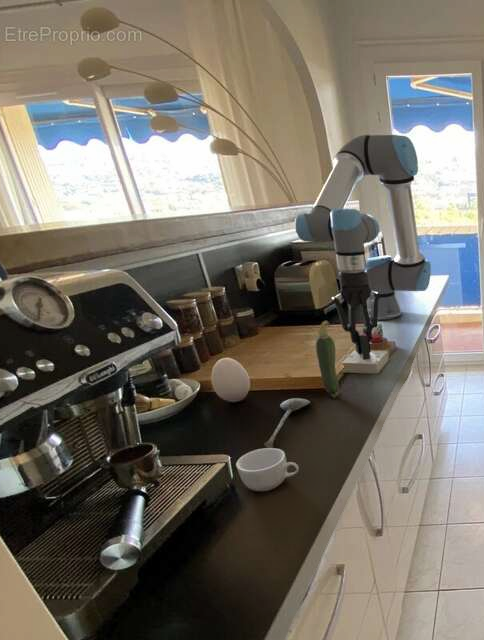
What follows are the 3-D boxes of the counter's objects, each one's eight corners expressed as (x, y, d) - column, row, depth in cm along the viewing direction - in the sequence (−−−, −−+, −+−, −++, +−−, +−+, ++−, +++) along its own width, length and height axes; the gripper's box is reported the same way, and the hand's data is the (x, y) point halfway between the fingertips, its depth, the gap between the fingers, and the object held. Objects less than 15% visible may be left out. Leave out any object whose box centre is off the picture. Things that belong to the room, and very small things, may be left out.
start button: (372, 339, 145) (371, 333, 144) (384, 339, 145) (384, 333, 144) (368, 343, 141) (367, 337, 140) (381, 343, 141) (380, 337, 140)
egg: (247, 391, 117) (236, 350, 112) (259, 400, 112) (248, 358, 107) (213, 401, 112) (200, 358, 107) (224, 411, 107) (211, 367, 102)
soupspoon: (315, 403, 112) (288, 405, 112) (312, 391, 111) (284, 393, 110) (285, 447, 92) (252, 450, 92) (281, 433, 91) (247, 436, 90)
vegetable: (321, 398, 113) (307, 322, 105) (331, 391, 117) (318, 317, 108) (336, 400, 113) (323, 323, 104) (346, 393, 116) (334, 318, 108)
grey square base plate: (354, 358, 139) (352, 349, 138) (388, 360, 138) (387, 350, 137) (340, 372, 129) (338, 362, 128) (377, 373, 128) (376, 363, 127)
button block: (369, 346, 149) (368, 335, 147) (396, 347, 149) (394, 336, 147) (359, 357, 140) (357, 345, 138) (387, 358, 140) (385, 346, 138)
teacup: (235, 498, 78) (227, 472, 75) (254, 472, 85) (247, 448, 82) (294, 496, 78) (288, 470, 76) (308, 470, 85) (303, 446, 83)
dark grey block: (358, 354, 134) (355, 330, 131) (364, 353, 135) (361, 329, 132) (363, 359, 130) (360, 336, 127) (370, 358, 131) (367, 334, 128)
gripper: (327, 275, 115) (340, 360, 125) (384, 270, 122) (392, 351, 132) (320, 270, 121) (334, 352, 131) (375, 266, 128) (384, 344, 138)
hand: (363, 351), depth 132 cm, fingers closed on dark grey block, 2 cm apart
